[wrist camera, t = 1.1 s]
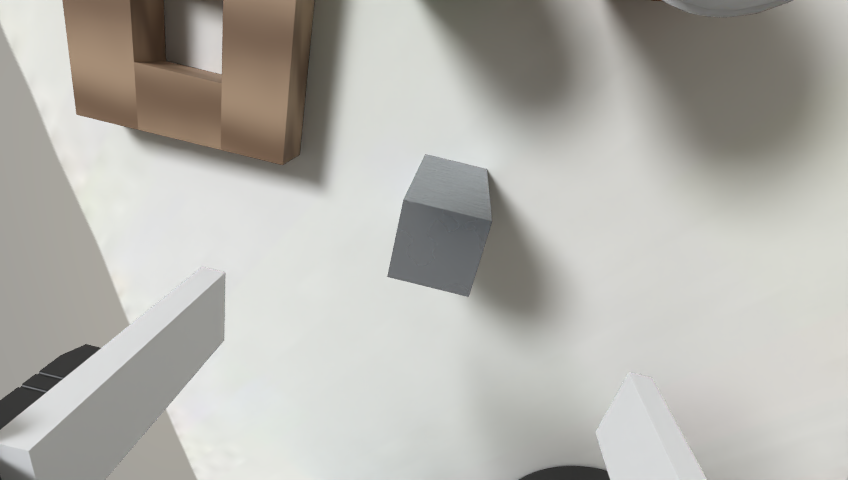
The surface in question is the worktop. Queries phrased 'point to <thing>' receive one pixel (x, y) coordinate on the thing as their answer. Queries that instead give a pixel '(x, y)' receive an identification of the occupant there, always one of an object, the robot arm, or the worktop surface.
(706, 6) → the disposable coffee cup
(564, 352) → the worktop surface
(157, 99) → the socket block
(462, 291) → the square peg
